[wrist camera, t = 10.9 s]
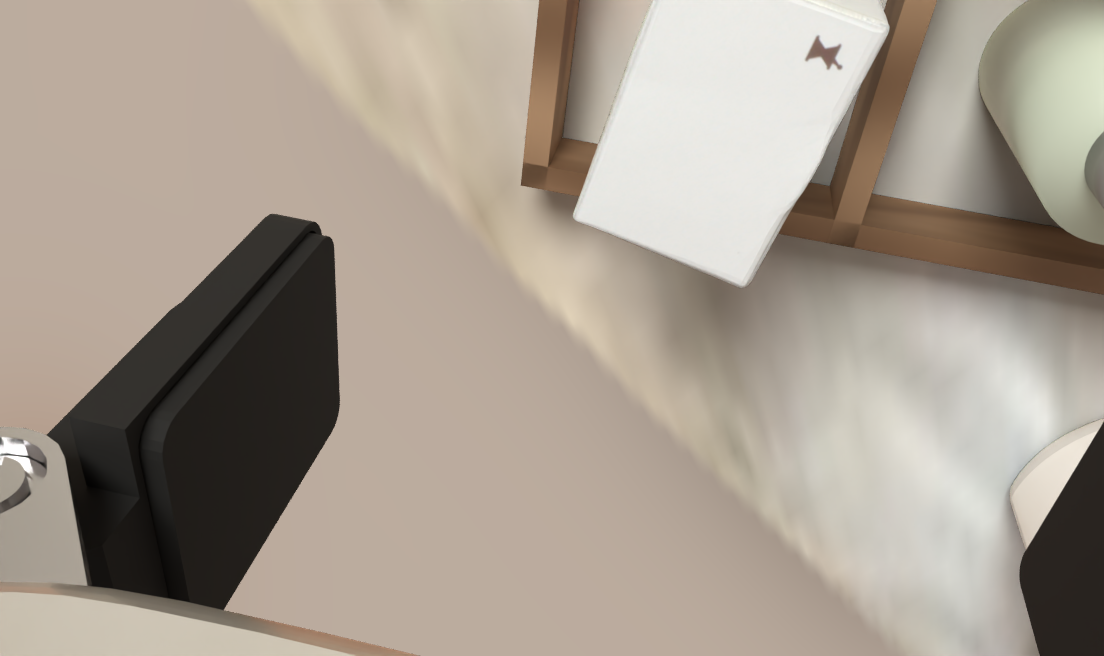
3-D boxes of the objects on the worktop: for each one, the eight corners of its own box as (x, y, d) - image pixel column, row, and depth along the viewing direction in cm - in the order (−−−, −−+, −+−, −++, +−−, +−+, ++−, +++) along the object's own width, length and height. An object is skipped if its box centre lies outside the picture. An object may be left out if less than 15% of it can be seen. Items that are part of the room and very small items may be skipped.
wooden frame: (579, -239, 25) (562, -236, 23) (1375, -127, 23) (1434, -112, 21) (536, 155, 32) (520, 185, 30) (1153, 268, 30) (1182, 309, 28)
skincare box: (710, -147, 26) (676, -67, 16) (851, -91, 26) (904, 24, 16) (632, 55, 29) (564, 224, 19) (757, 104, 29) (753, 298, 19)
